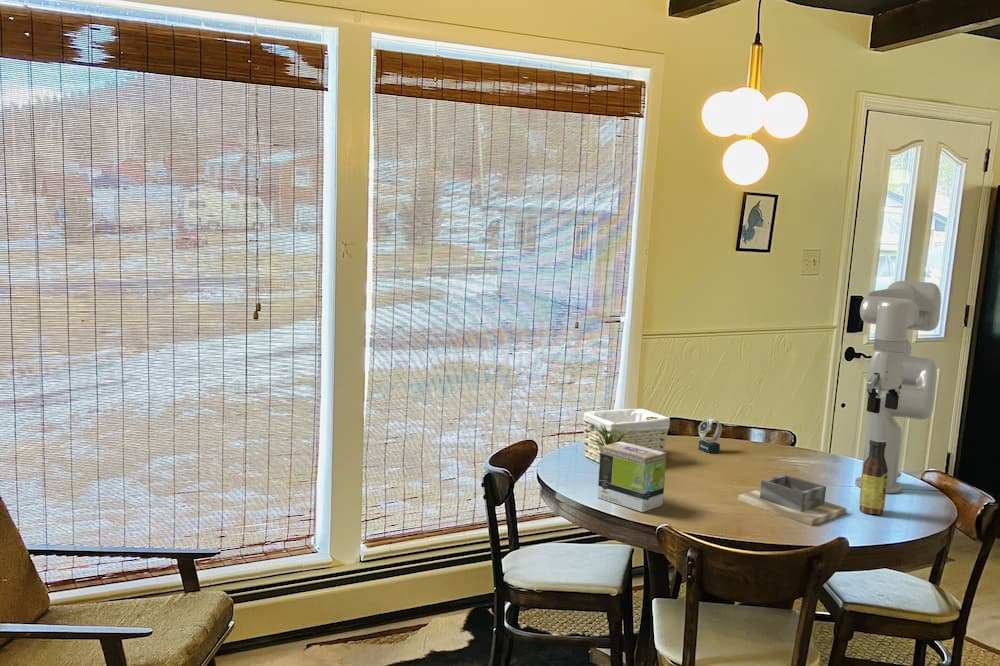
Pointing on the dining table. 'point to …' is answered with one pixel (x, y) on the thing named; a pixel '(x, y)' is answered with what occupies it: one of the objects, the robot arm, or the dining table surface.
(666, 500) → the dining table surface
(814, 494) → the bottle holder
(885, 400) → the robot arm
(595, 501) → the dining table surface
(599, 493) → the tea box
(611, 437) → the house plant
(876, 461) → the sauce bottle
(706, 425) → the watch
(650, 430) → the storage basket
